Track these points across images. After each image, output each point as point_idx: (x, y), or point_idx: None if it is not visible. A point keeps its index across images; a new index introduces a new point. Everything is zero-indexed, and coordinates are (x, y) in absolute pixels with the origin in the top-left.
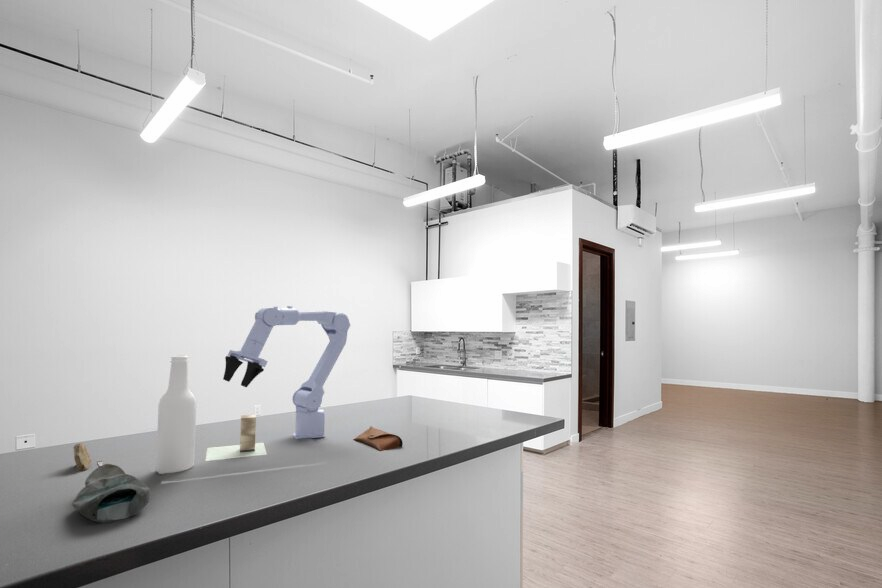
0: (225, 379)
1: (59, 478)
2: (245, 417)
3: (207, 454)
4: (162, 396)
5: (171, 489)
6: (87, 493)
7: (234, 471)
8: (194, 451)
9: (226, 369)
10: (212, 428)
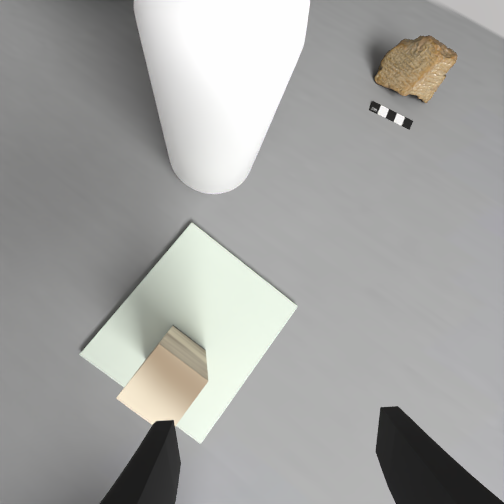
0: (383, 420)
1: (362, 32)
2: (156, 365)
3: (240, 264)
4: None
5: (91, 67)
6: None
7: (59, 213)
8: (182, 170)
9: (465, 490)
10: (494, 470)
